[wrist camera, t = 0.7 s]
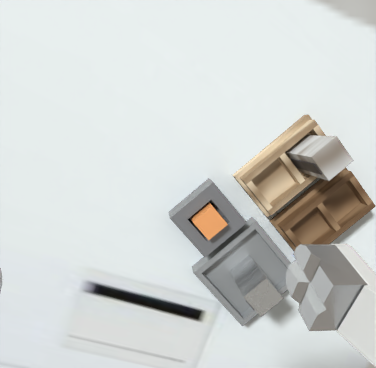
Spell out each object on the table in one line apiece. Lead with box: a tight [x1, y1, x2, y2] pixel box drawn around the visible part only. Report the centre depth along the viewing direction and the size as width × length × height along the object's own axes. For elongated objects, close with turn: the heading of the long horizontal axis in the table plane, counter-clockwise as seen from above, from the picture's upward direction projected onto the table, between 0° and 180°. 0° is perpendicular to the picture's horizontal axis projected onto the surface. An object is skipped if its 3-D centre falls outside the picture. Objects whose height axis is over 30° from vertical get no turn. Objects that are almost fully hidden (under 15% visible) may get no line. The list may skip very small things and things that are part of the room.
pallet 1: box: [233, 115, 353, 217], centre depth 50 cm, size 10×16×10 cm, turn 130°
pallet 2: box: [270, 167, 375, 252], centre depth 55 cm, size 10×16×4 cm, turn 130°
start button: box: [191, 202, 228, 240], centre depth 51 cm, size 4×4×3 cm
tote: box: [192, 217, 291, 326], centre depth 56 cm, size 14×14×2 cm
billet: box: [230, 255, 283, 316], centre depth 52 cm, size 4×5×9 cm
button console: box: [169, 179, 246, 257], centre depth 53 cm, size 9×9×4 cm
